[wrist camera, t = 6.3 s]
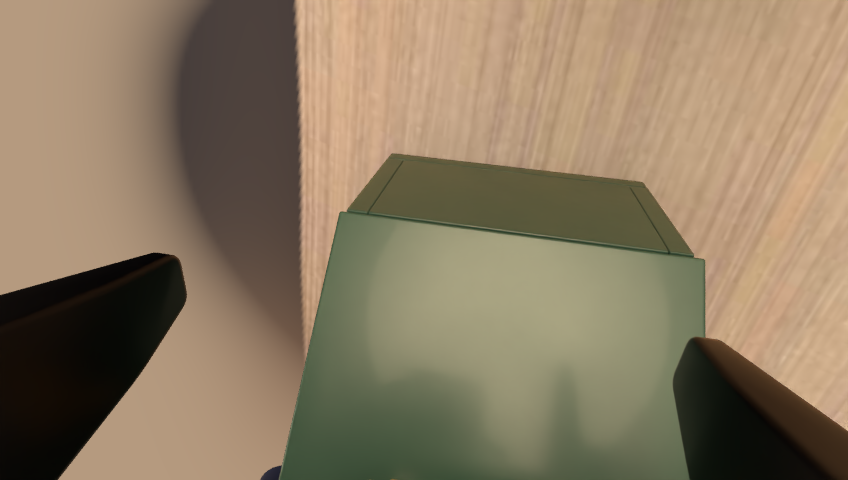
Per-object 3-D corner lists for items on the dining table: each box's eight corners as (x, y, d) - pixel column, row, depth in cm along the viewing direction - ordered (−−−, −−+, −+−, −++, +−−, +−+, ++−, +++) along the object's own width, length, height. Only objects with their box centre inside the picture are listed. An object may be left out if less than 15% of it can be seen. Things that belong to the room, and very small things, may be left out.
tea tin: (569, 431, 26) (584, 547, 20) (383, 397, 27) (349, 499, 22) (643, 181, 19) (695, 254, 14) (391, 152, 20) (346, 209, 15)
